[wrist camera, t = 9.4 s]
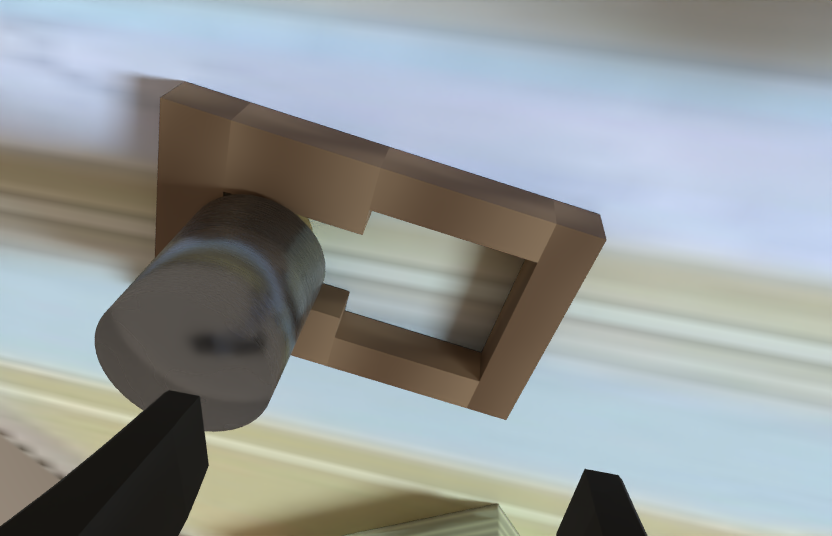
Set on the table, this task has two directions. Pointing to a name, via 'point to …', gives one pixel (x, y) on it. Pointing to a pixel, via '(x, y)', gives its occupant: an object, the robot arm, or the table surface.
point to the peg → (216, 311)
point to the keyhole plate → (350, 209)
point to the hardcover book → (453, 525)
